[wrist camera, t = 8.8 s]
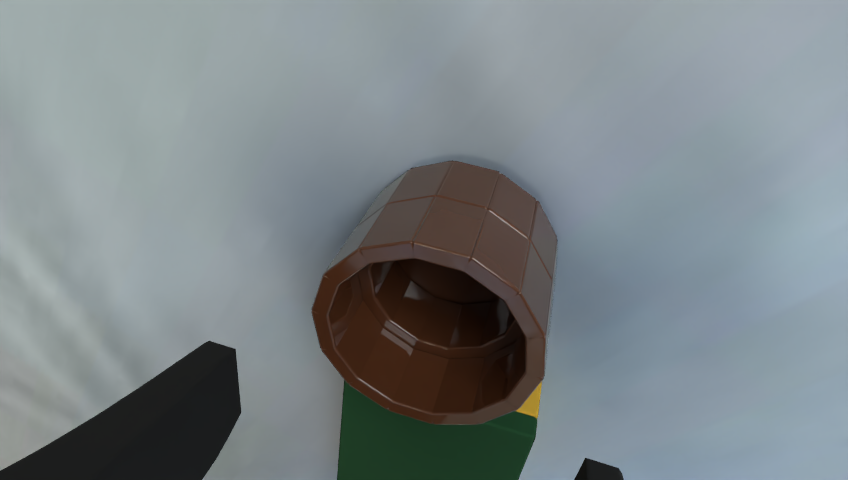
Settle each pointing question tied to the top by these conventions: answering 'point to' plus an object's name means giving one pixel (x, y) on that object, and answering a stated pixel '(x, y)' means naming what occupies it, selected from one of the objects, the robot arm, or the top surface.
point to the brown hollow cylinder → (443, 296)
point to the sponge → (431, 444)
